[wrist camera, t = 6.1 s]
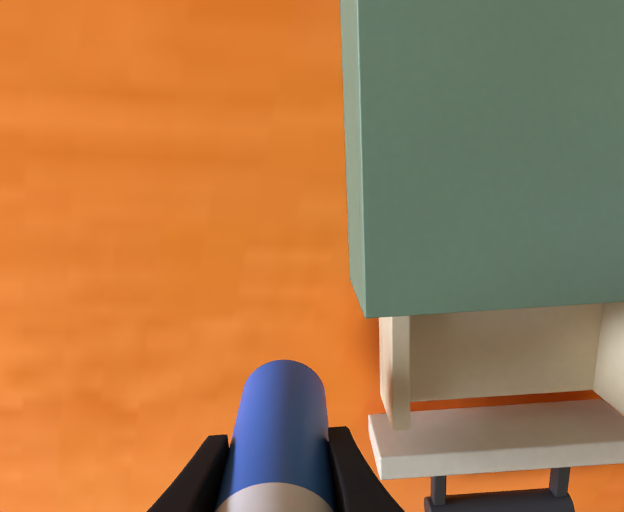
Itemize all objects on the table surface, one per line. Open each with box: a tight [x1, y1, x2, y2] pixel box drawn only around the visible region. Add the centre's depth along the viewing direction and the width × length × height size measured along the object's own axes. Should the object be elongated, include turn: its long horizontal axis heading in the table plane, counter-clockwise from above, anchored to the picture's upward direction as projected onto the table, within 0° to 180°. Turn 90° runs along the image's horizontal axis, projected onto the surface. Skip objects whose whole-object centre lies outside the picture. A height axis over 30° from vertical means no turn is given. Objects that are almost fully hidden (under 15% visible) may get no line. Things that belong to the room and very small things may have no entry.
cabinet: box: [340, 0, 624, 318], centre depth 16 cm, size 14×13×5 cm
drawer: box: [368, 302, 624, 512], centre depth 19 cm, size 18×12×3 cm
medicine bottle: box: [214, 360, 337, 512], centre depth 13 cm, size 4×4×8 cm
